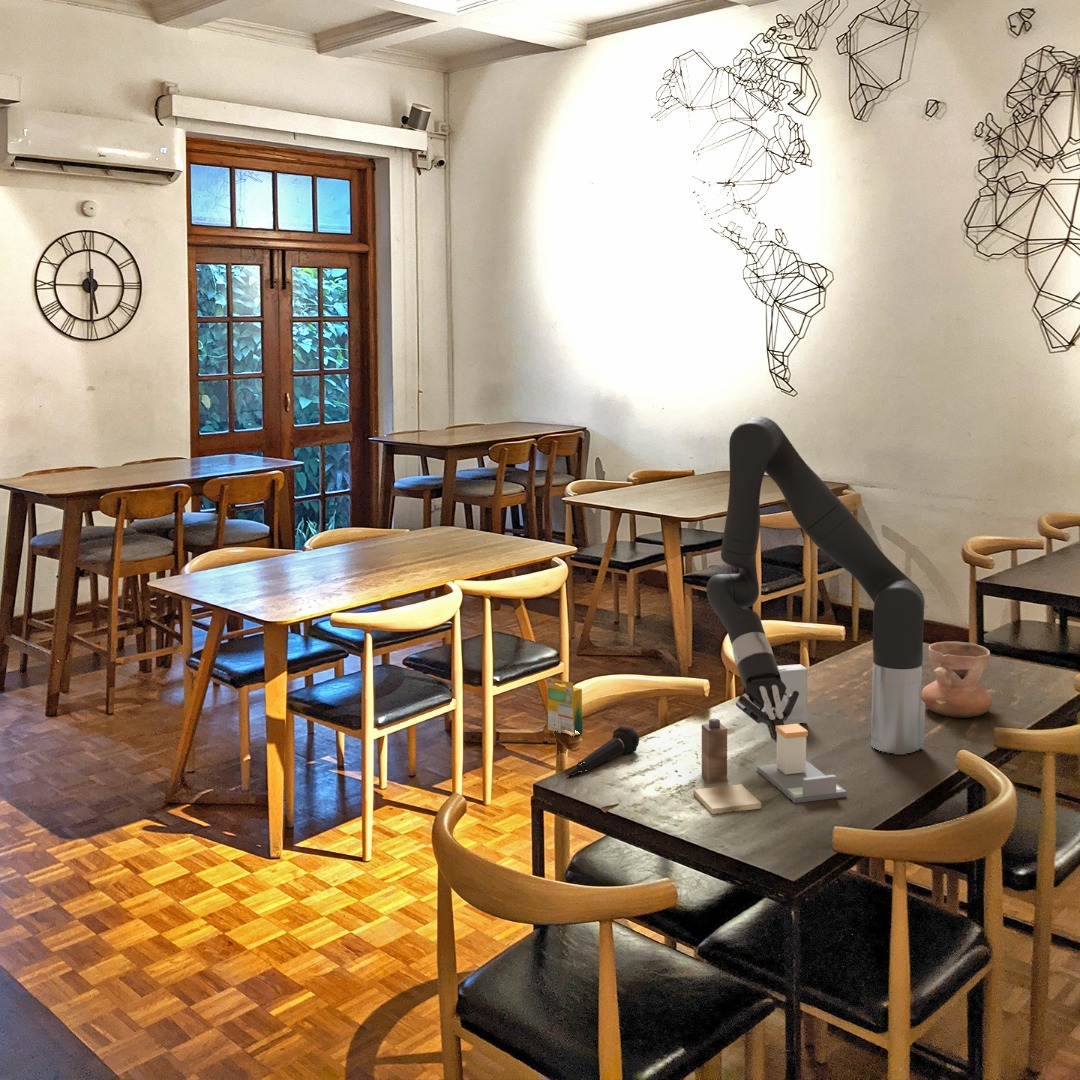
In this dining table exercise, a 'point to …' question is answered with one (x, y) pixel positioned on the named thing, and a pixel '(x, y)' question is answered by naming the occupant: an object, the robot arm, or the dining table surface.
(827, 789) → the panel
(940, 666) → the ceramic jug
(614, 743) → the microphone
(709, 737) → the pepper mill
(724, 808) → the coaster
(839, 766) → the dining table surface
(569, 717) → the food box
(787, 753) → the orange-capped white pillar
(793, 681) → the skincare box
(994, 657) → the dining table surface
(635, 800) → the dining table surface
